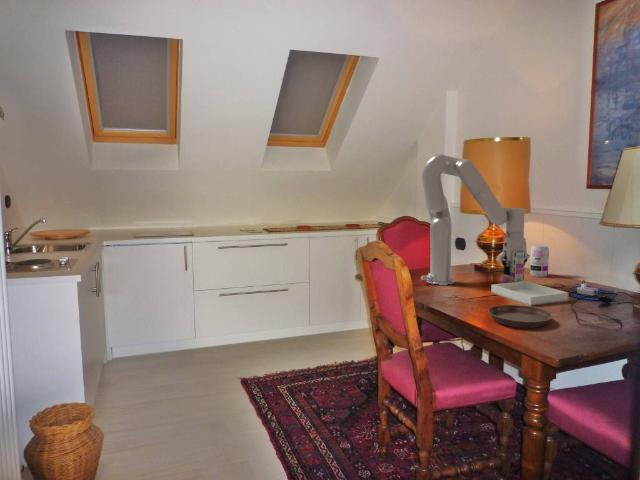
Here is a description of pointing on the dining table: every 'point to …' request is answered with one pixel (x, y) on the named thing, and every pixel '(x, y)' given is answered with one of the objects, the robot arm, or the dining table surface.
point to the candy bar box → (516, 268)
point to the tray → (529, 293)
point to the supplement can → (539, 260)
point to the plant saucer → (520, 316)
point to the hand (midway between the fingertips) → (513, 273)
